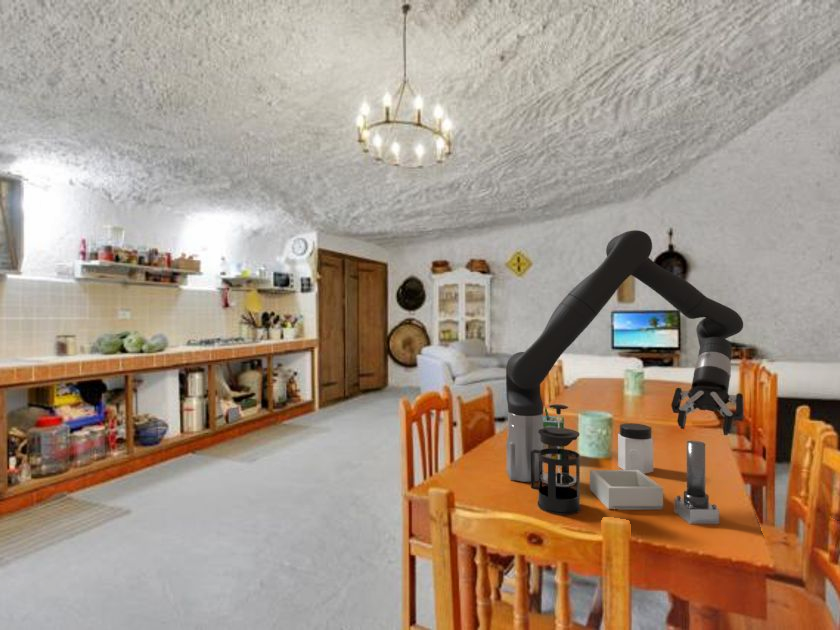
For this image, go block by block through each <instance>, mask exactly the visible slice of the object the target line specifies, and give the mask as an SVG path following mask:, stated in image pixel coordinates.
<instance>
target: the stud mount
mask: <svg viewBox="0 0 840 630" xmlns="http://www.w3.org/2000/svg"><path fill="white" fill-rule="evenodd" d="M673 499H674V501H673V502H674V503H673V504H674V509H673V510H674V511H673V512H674V513H675V514H677V516H680V518H681V519H683V520H684V521H686V522H687V523H688V524H689V525H718V524H719V525H720V509H719V508H717V505H716V504H711V503H710V502H709V507H707V508H696V507H693V505H692V504H690V505H687V504H685V503H684V497H682V496H681V495H680V494H679V495H676V497H674V498H673Z"/></svg>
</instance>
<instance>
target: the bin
mask: <svg viewBox="0 0 840 630" xmlns="http://www.w3.org/2000/svg"><path fill="white" fill-rule="evenodd" d="M589 490H590V491H591V492H592V493H593V494H594V495H595V497H596V498H597V499H598V500H599V501H600V502H601V503H602V504H603V506H605V508H606V509H608V510H609V509H614V510H615V509H618V510H620V511H622V510H625V511H628V510H630V511H631V510H633V511H634V510H635V511H636V510H637V511H638V510H641V511H643V510H646V511H647V510H648V511H649V510H650V511H651V510H653V511H656V510H657V511H658V510H661V511H662V510H664V487H663V486H661V485H659V483H656V482H655V481H654V480H653V479H651V478H650V477H648V476H647V475H646V474H643V473H642V472H640V471H639V470H623V469H589ZM614 510H613V511H614ZM618 510H617V511H618Z"/></svg>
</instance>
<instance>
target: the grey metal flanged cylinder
mask: <svg viewBox="0 0 840 630" xmlns="http://www.w3.org/2000/svg"><path fill="white" fill-rule="evenodd" d="M709 497H710V496H709V495H708V494H707V493H706V443H705V442H702V441H700V440H687V441H686V490H683V498H684V503H685V504H687V505H690V504H692V505H693V507H696V508H707V507H709V503H710V500H709V499H710V498H709Z"/></svg>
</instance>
